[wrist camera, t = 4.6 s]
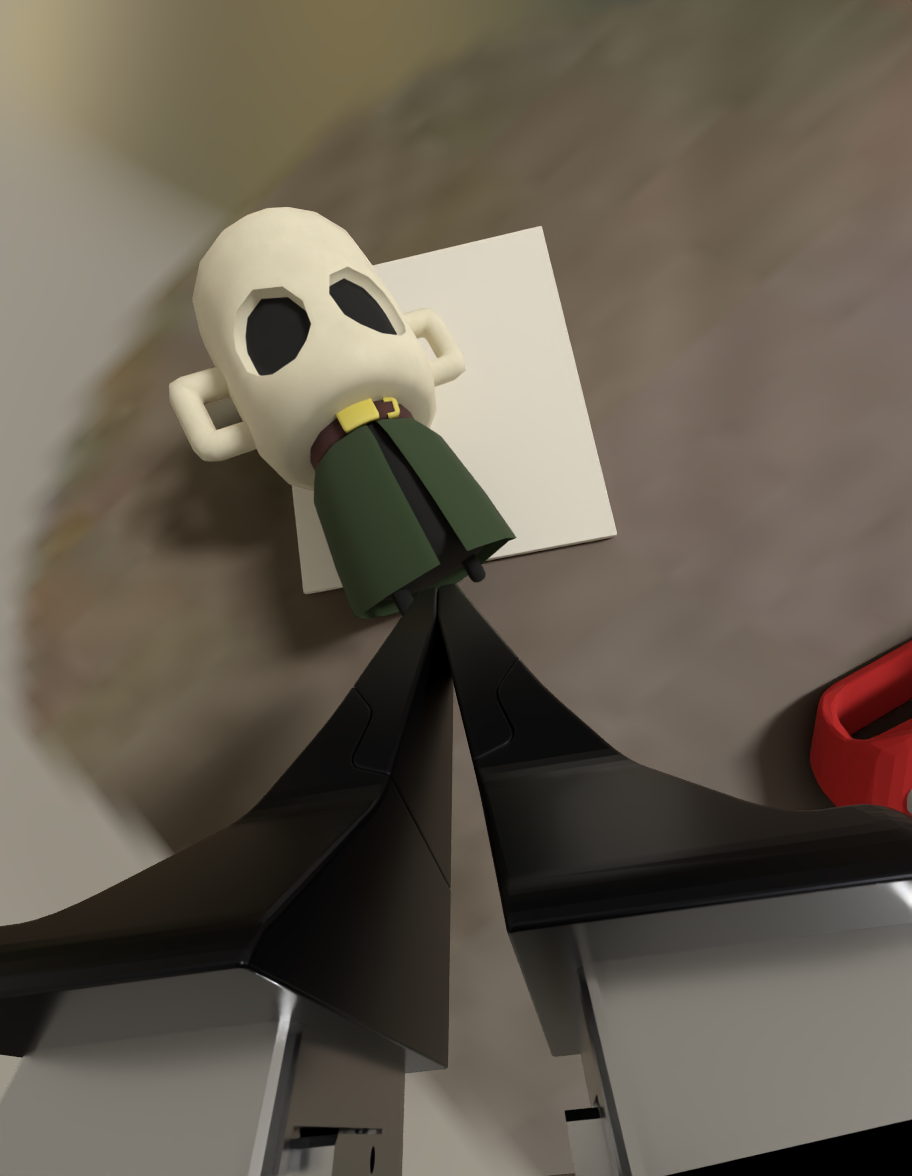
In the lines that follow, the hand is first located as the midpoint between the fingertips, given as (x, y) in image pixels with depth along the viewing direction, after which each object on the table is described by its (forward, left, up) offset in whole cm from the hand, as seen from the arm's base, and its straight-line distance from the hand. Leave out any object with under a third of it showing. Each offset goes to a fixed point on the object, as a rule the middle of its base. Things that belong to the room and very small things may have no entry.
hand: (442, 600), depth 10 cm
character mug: (0, 0, -5) cm, 5 cm away
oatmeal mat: (+10, +1, -8) cm, 13 cm away
